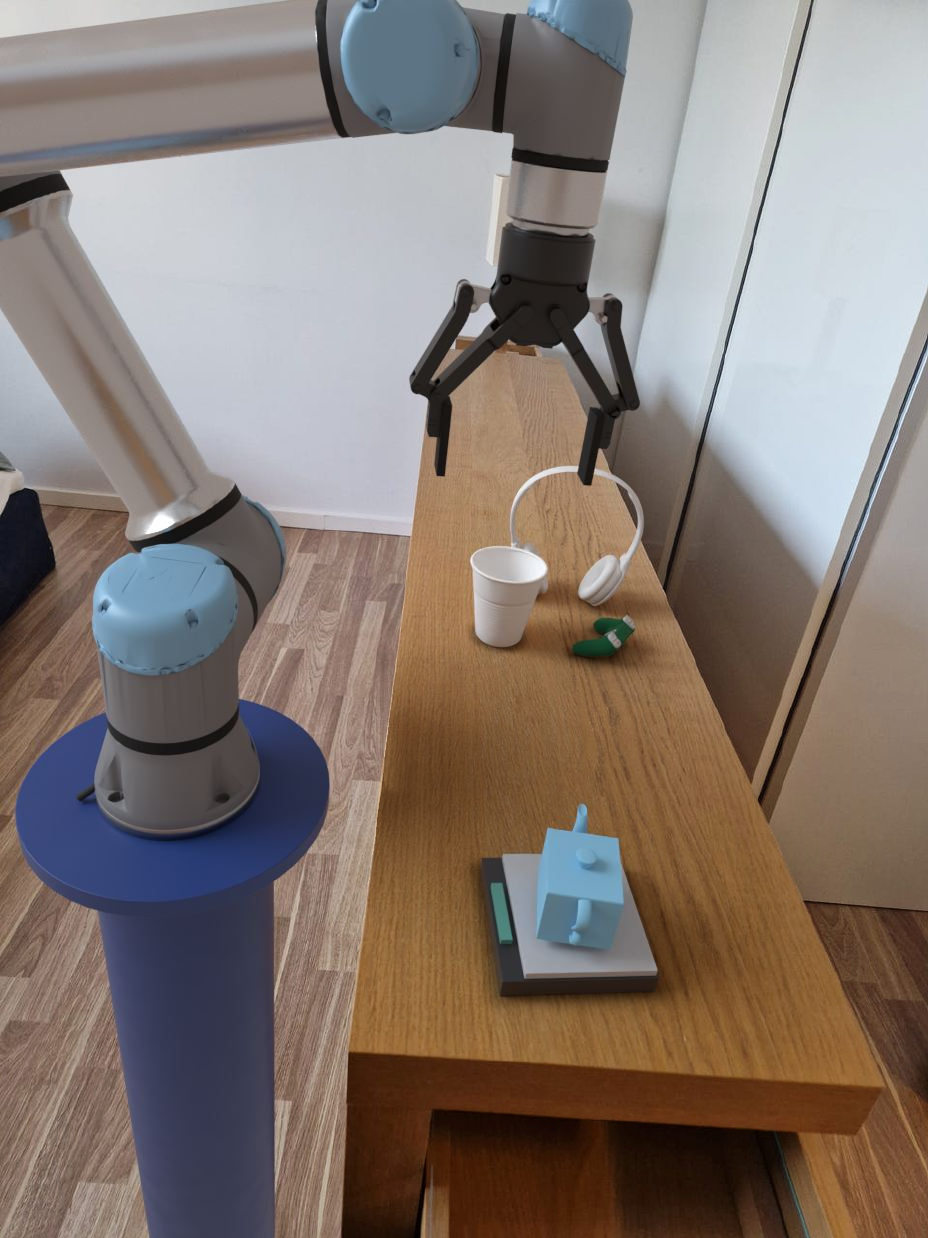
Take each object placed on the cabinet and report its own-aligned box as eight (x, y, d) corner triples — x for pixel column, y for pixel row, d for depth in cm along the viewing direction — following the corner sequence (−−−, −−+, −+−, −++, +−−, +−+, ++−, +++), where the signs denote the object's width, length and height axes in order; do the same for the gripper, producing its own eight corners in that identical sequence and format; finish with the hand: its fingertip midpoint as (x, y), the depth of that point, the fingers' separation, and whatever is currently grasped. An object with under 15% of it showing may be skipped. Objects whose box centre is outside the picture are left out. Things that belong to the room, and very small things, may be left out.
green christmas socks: (582, 672, 114) (619, 657, 110) (567, 648, 114) (604, 632, 110) (608, 642, 121) (643, 627, 117) (594, 619, 121) (629, 603, 117)
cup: (465, 611, 120) (474, 540, 115) (536, 622, 120) (548, 551, 114) (457, 650, 112) (466, 575, 106) (533, 662, 112) (547, 587, 106)
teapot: (536, 852, 80) (550, 791, 76) (602, 861, 80) (618, 801, 76) (534, 962, 70) (549, 898, 66) (609, 973, 70) (628, 910, 66)
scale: (499, 996, 70) (503, 976, 69) (479, 871, 81) (483, 852, 80) (654, 992, 72) (661, 972, 71) (614, 870, 83) (619, 851, 81)
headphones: (501, 576, 130) (520, 450, 120) (622, 595, 130) (653, 469, 119) (497, 600, 124) (517, 468, 114) (625, 619, 124) (657, 489, 113)
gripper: (684, 234, 74) (631, 468, 85) (391, 202, 70) (375, 451, 81) (714, 249, 68) (653, 500, 79) (395, 215, 64) (377, 483, 75)
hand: (512, 475), depth 80 cm, fingers open, 13 cm apart
